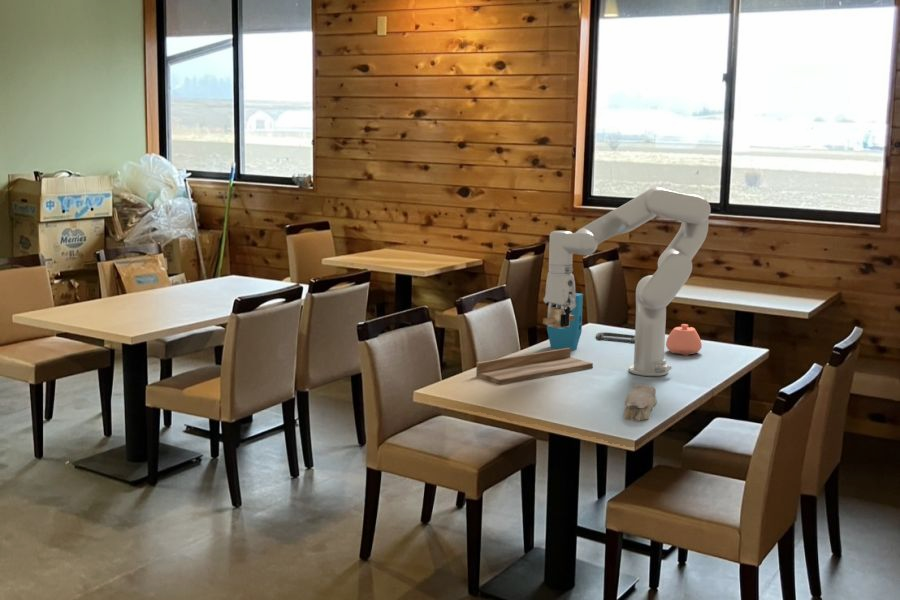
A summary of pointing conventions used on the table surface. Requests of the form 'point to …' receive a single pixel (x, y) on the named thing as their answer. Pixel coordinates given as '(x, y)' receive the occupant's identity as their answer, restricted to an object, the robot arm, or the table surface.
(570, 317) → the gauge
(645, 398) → the beige mottled oblong part
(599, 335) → the c clamp
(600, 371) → the table surface
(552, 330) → the block
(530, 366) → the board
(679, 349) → the sugar bowl
